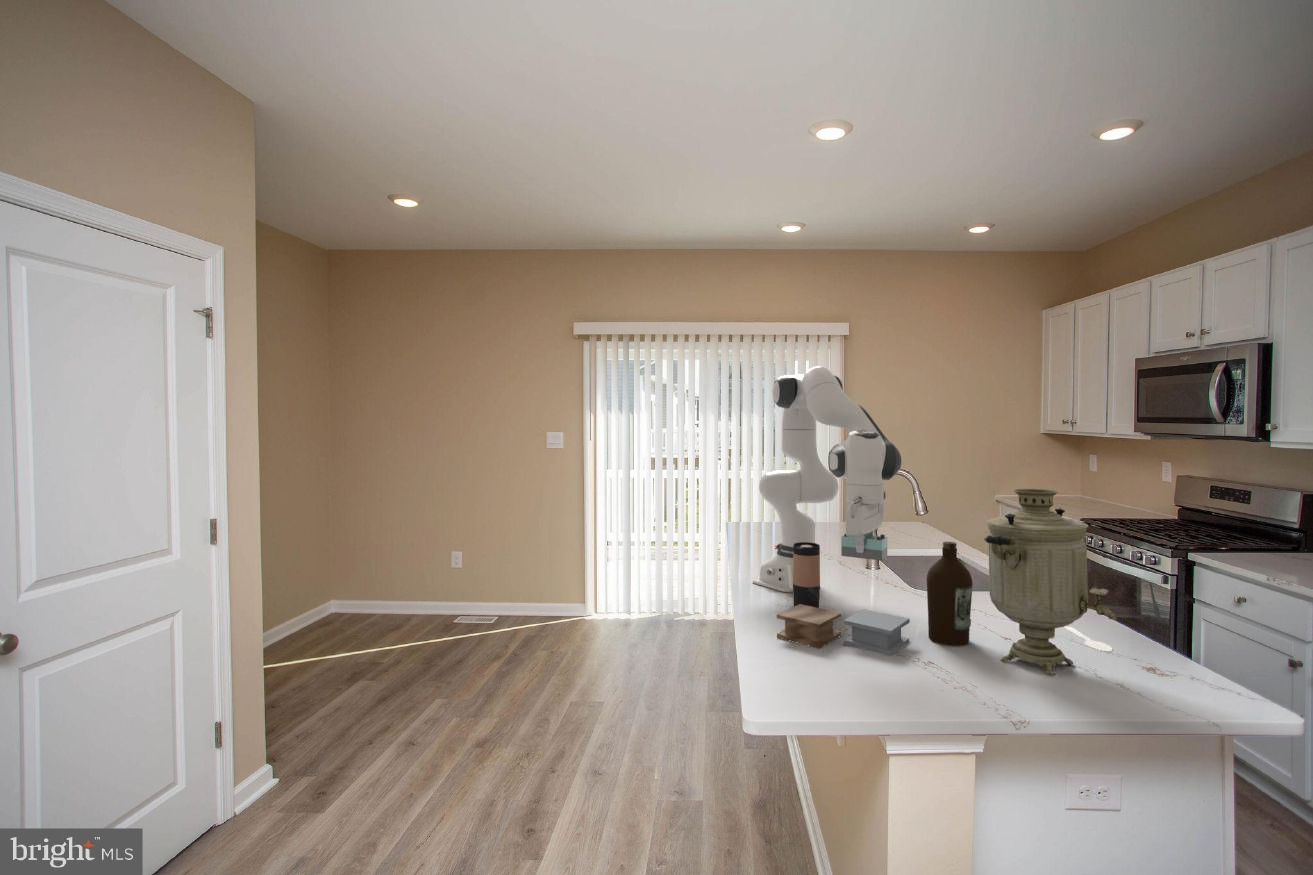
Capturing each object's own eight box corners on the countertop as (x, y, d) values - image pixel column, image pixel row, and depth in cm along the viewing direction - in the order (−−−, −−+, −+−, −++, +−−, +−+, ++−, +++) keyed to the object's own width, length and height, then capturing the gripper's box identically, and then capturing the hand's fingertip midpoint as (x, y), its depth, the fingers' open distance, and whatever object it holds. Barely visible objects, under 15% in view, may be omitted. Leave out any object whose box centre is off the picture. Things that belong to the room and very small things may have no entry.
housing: (841, 555, 160) (841, 533, 160) (847, 552, 164) (847, 530, 164) (882, 560, 154) (882, 537, 154) (887, 556, 158) (887, 534, 158)
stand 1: (776, 637, 164) (776, 614, 163) (799, 625, 173) (799, 603, 172) (819, 648, 156) (819, 624, 155) (841, 635, 165) (841, 612, 164)
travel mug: (817, 609, 187) (817, 542, 186) (821, 617, 179) (822, 547, 179) (791, 608, 188) (791, 541, 187) (794, 617, 180) (794, 547, 179)
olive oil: (917, 637, 163) (918, 541, 162) (941, 630, 169) (942, 536, 168) (956, 650, 154) (957, 548, 153) (980, 641, 160) (981, 543, 159)
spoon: (1076, 628, 171) (1076, 626, 170) (1119, 653, 153) (1119, 651, 153) (1055, 627, 171) (1055, 625, 171) (1095, 652, 153) (1095, 650, 153)
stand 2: (843, 643, 159) (843, 620, 159) (863, 631, 168) (863, 609, 168) (890, 655, 151) (891, 630, 151) (909, 641, 160) (909, 618, 160)
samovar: (1041, 700, 127) (1045, 502, 126) (948, 653, 152) (950, 488, 151) (1153, 683, 135) (1157, 496, 133) (1047, 641, 160) (1050, 483, 159)
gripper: (865, 500, 148) (865, 559, 149) (887, 492, 165) (887, 544, 166) (838, 498, 152) (838, 556, 152) (863, 490, 169) (863, 542, 169)
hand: (864, 549), depth 159 cm, fingers closed on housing, 5 cm apart
